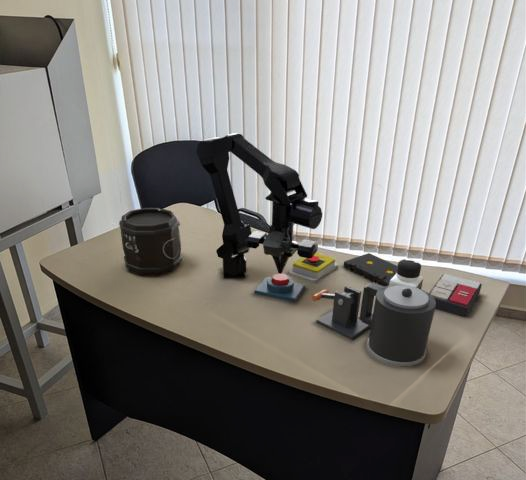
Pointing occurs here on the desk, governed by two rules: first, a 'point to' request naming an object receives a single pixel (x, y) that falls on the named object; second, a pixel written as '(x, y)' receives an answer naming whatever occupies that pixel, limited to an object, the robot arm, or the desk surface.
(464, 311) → the grey red panel box
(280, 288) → the blue button base
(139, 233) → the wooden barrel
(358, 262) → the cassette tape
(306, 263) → the emergency button
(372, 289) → the kettle
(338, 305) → the switch base
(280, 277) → the power button
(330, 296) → the switch lever
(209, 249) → the desk surface
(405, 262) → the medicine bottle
